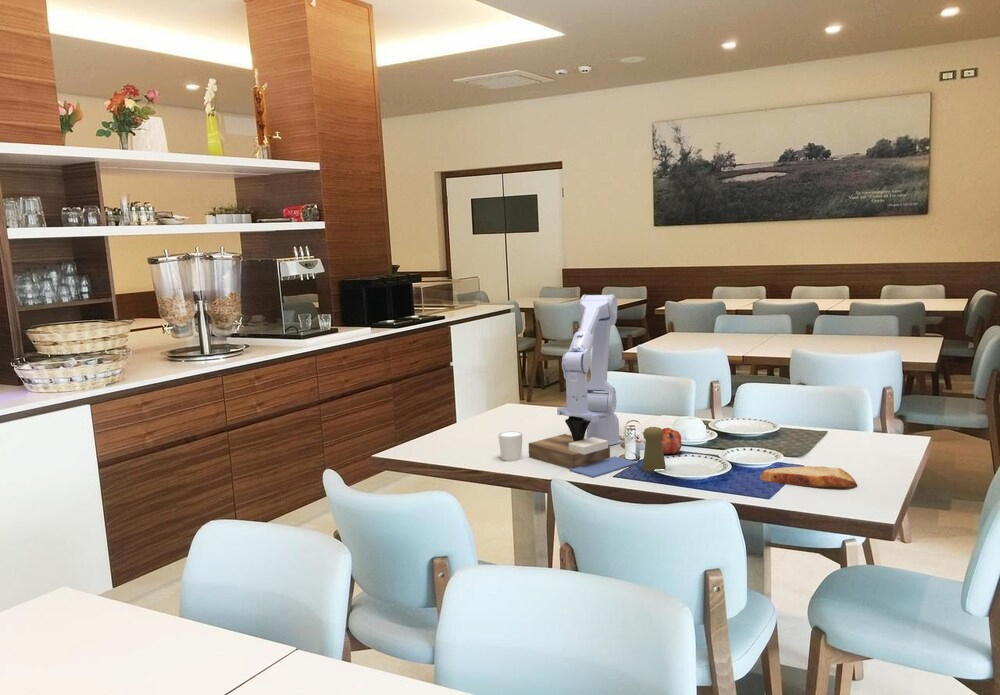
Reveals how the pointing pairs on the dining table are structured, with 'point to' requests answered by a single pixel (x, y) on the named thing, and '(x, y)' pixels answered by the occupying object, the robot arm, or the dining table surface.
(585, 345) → the robot arm
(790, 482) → the bread slice
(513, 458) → the white cup
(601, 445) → the block
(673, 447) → the pomegranate
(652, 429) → the cork
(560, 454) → the brown wooden slab
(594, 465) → the mat
